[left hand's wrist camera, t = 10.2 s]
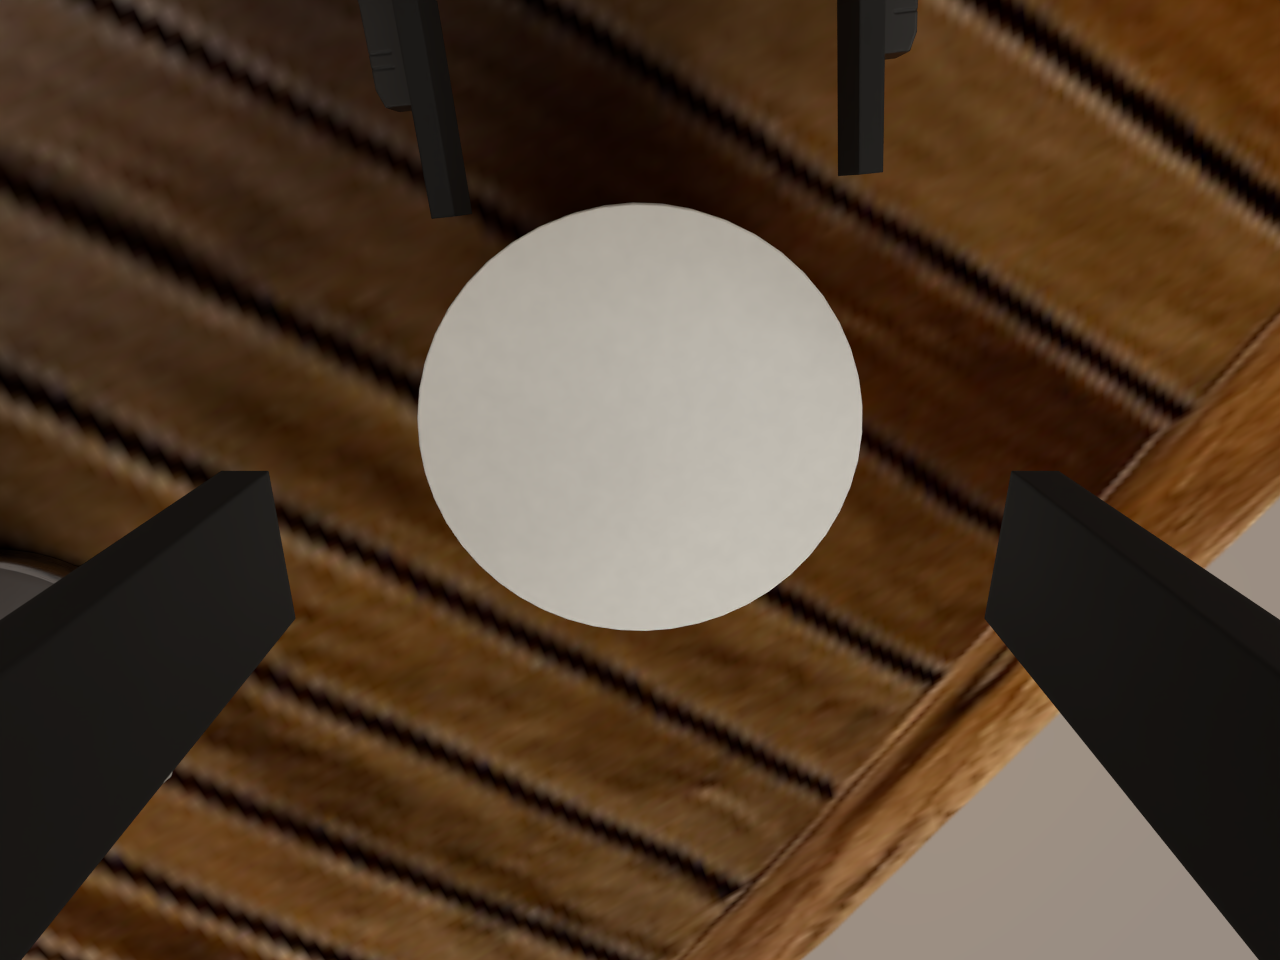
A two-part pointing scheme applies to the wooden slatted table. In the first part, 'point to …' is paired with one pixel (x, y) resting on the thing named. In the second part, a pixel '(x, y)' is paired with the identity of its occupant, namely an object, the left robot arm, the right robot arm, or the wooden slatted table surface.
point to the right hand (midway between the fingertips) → (654, 197)
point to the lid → (639, 417)
